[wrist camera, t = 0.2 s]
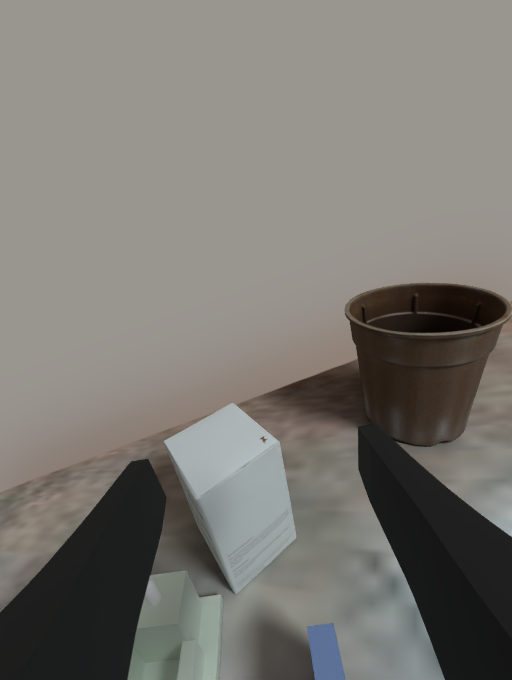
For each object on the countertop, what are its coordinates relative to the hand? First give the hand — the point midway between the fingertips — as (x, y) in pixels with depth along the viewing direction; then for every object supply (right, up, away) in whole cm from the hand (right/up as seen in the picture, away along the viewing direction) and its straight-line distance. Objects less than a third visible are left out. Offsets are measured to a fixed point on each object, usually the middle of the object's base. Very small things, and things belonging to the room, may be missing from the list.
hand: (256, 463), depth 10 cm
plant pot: (+21, -6, +30) cm, 37 cm away
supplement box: (-1, -15, +19) cm, 24 cm away
